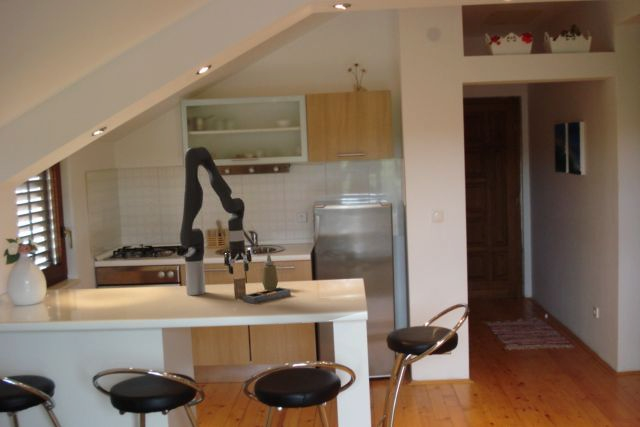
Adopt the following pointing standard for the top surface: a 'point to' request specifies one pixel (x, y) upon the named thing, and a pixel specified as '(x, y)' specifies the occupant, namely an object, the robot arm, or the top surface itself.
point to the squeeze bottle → (269, 274)
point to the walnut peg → (239, 288)
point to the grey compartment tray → (266, 295)
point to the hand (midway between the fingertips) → (238, 272)
